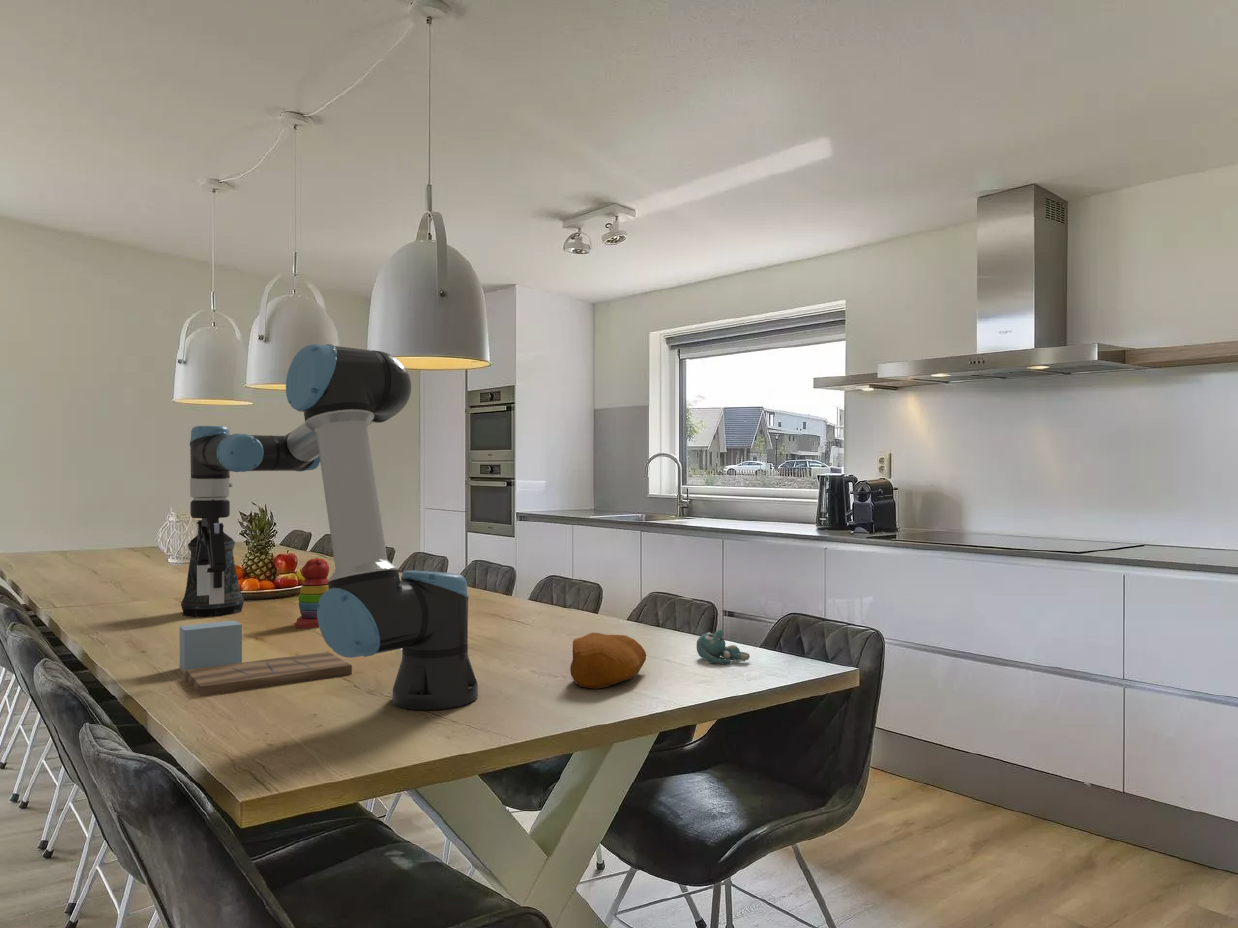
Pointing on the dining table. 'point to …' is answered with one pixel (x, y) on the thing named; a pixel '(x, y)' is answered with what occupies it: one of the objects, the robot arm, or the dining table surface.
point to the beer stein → (200, 604)
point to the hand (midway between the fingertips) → (210, 599)
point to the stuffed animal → (718, 649)
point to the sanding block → (210, 645)
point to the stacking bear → (312, 591)
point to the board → (266, 673)
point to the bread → (605, 659)
